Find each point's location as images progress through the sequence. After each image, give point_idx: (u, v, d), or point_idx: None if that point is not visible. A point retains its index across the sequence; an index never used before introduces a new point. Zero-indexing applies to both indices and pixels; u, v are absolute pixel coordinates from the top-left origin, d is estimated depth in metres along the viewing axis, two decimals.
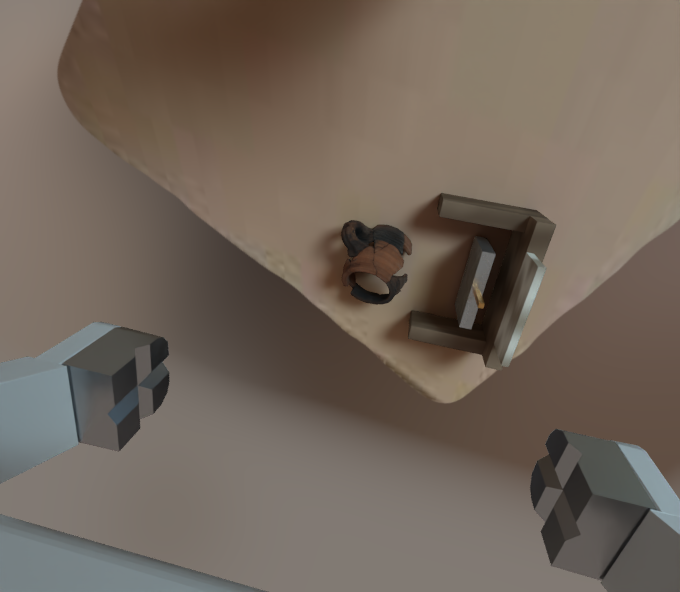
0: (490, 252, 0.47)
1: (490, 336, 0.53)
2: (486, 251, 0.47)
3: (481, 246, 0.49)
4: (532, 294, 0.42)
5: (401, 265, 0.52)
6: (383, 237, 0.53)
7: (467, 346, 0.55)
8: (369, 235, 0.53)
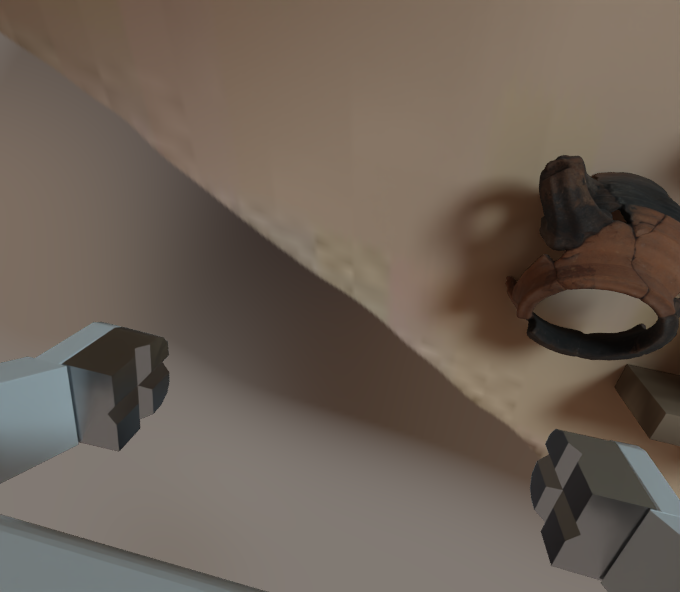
0: None
1: None
2: None
3: None
4: None
5: None
6: (640, 198, 0.21)
7: None
8: (602, 195, 0.21)
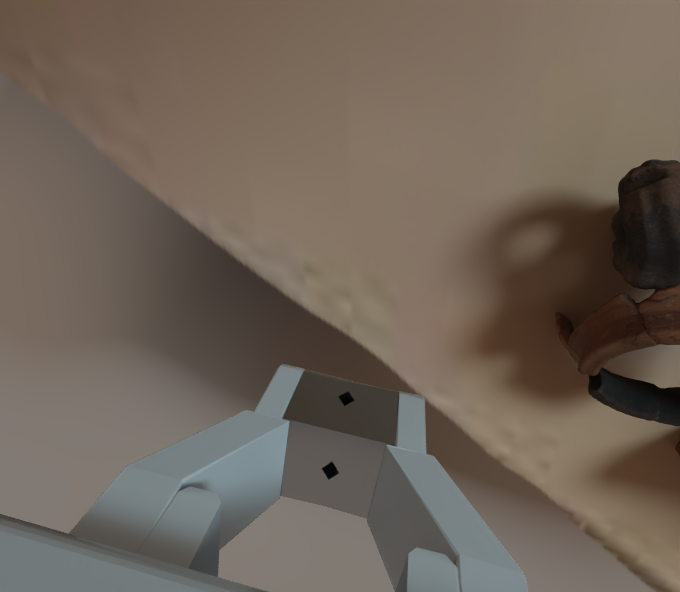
0: None
1: None
2: None
3: None
4: None
5: None
6: None
7: None
8: None
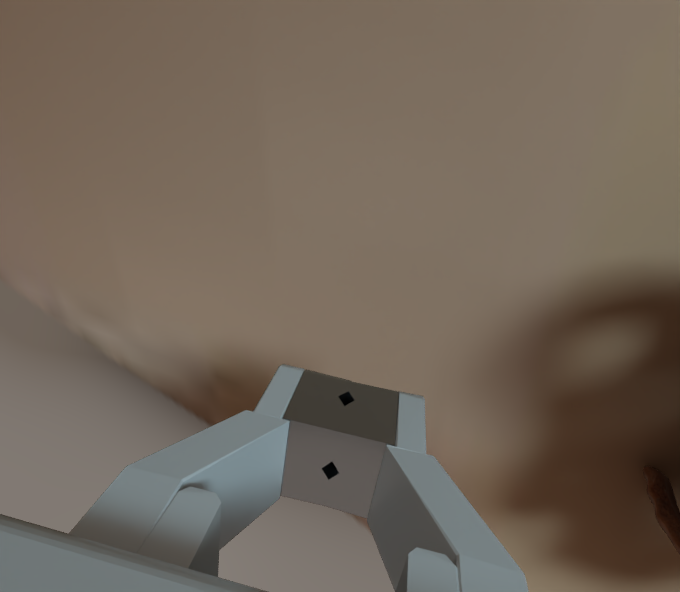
0: None
1: None
2: None
3: None
4: None
5: None
6: None
7: None
8: None
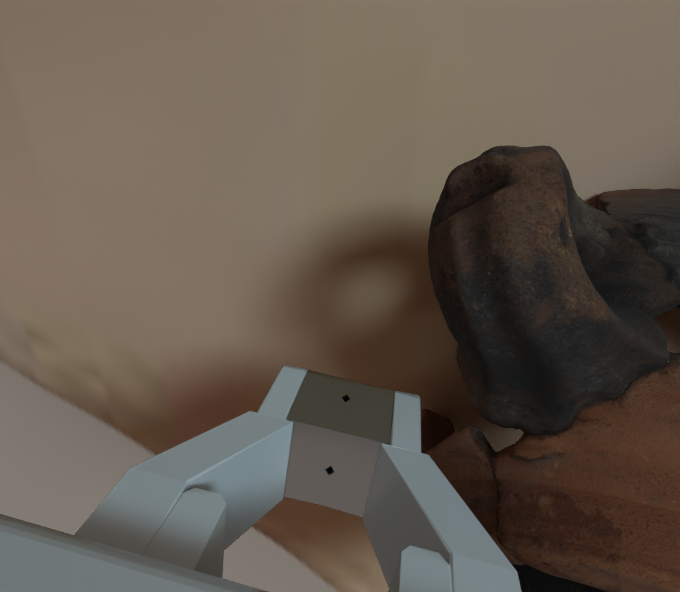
0: None
1: None
2: None
3: None
4: None
5: None
6: None
7: None
8: (627, 259, 0.07)
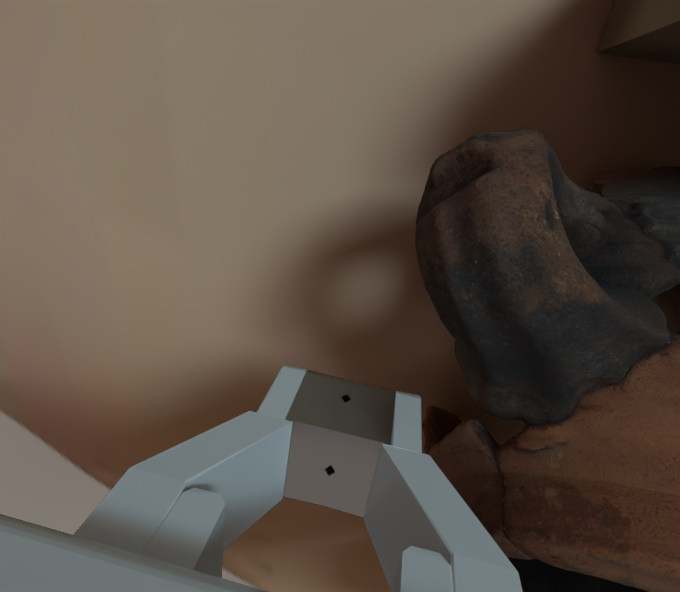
0: None
1: None
2: None
3: None
4: None
5: None
6: None
7: None
8: (622, 240, 0.07)
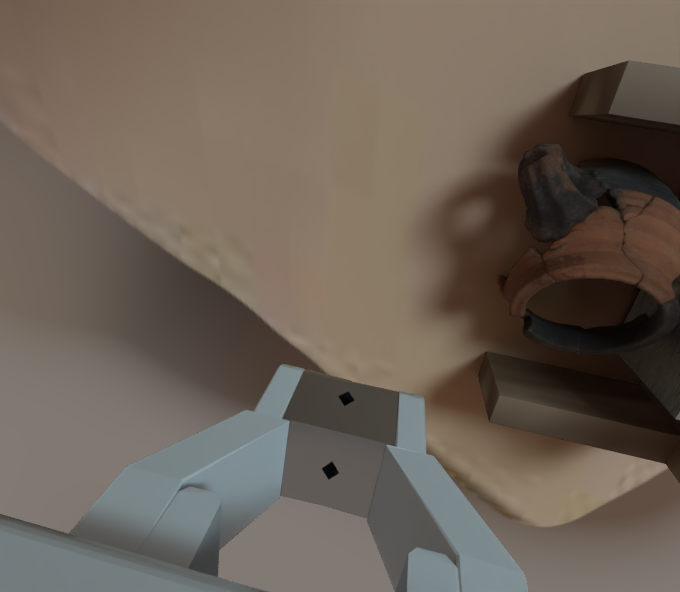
0: None
1: None
2: None
3: None
4: None
5: None
6: (626, 181, 0.20)
7: (632, 444, 0.23)
8: (586, 182, 0.20)
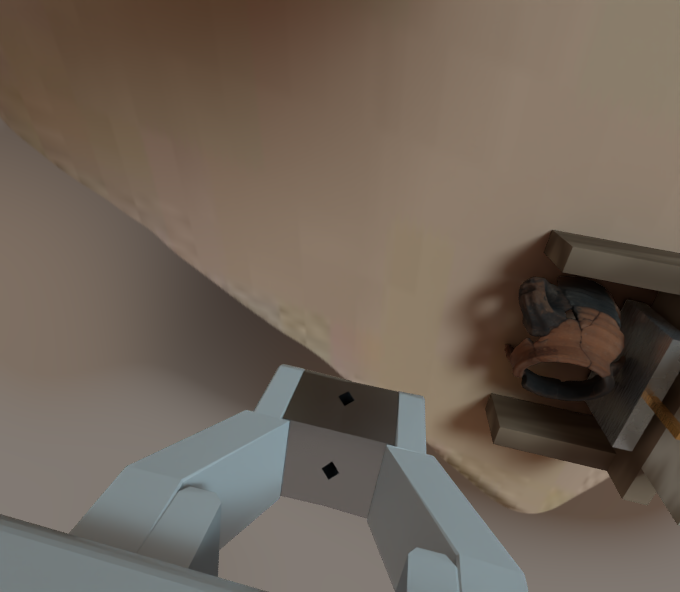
0: None
1: None
2: (677, 338, 0.29)
3: (659, 325, 0.30)
4: None
5: (623, 345, 0.32)
6: (584, 300, 0.33)
7: (585, 458, 0.36)
8: (560, 299, 0.33)
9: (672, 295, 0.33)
